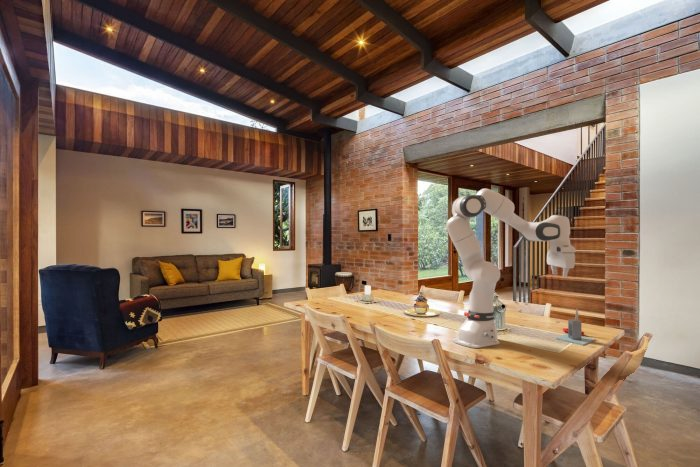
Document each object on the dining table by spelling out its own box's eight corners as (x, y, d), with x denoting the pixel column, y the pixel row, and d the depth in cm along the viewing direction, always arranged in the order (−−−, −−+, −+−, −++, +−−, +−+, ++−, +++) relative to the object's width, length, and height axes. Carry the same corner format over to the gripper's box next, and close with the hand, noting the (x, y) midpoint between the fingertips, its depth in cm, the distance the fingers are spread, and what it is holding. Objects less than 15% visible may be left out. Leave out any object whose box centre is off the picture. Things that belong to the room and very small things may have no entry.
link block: (581, 340, 166) (581, 321, 166) (572, 339, 166) (572, 321, 166) (576, 337, 170) (576, 319, 170) (568, 337, 170) (568, 319, 170)
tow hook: (559, 329, 185) (568, 333, 176) (560, 305, 186) (568, 308, 176) (576, 331, 184) (586, 335, 174) (577, 307, 184) (586, 309, 175)
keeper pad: (583, 345, 160) (583, 344, 160) (556, 338, 169) (555, 337, 169) (595, 340, 167) (595, 339, 167) (568, 334, 177) (568, 333, 177)
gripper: (543, 246, 180) (543, 273, 180) (563, 248, 160) (563, 278, 160) (555, 246, 180) (555, 273, 180) (577, 248, 159) (577, 278, 159)
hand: (559, 275), depth 170 cm, fingers open, 8 cm apart
